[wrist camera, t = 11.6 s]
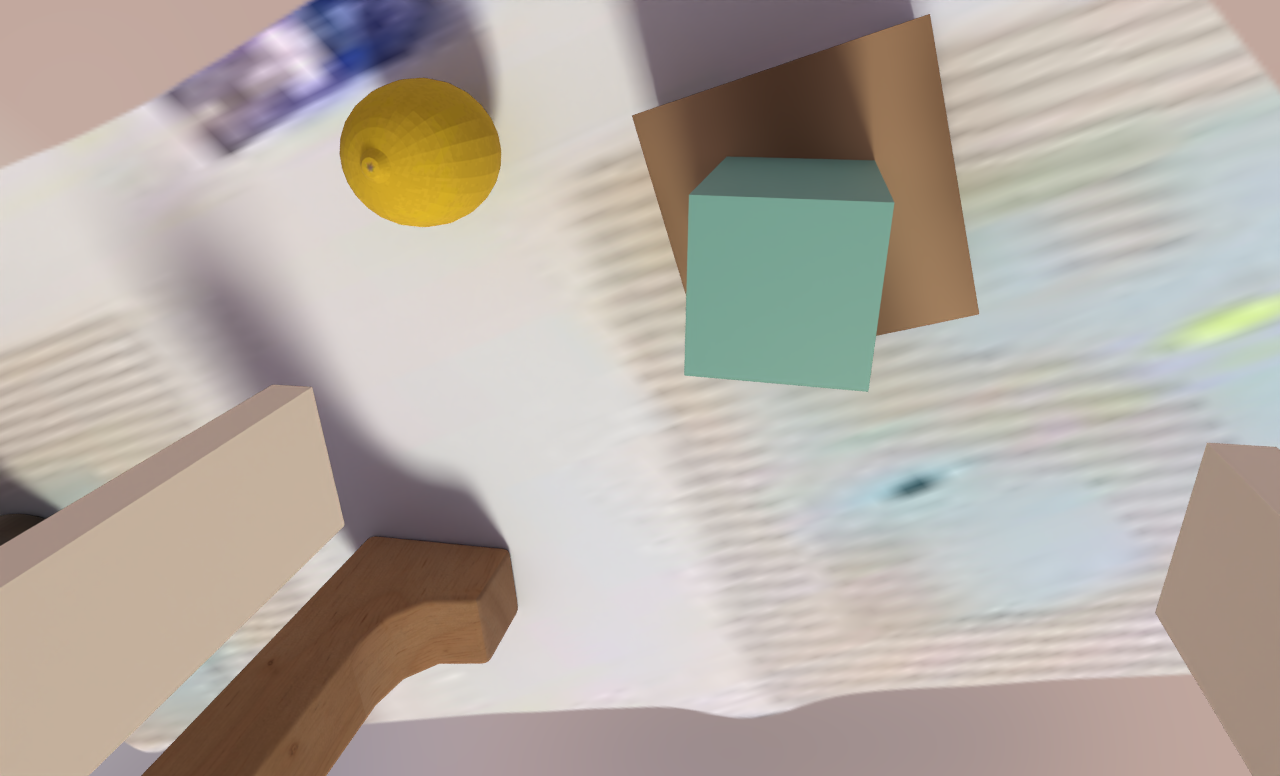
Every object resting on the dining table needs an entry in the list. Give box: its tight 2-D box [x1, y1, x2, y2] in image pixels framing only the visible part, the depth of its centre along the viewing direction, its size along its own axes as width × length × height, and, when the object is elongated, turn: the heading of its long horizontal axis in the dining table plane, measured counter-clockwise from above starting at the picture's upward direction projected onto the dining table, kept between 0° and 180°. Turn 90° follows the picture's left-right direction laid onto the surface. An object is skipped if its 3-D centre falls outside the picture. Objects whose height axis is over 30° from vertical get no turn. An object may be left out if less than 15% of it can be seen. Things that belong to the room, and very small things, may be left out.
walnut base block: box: [632, 14, 979, 336], centre depth 28 cm, size 10×10×5 cm
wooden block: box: [142, 536, 518, 776], centre depth 35 cm, size 9×4×18 cm, turn 94°
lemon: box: [340, 78, 501, 227], centre depth 29 cm, size 6×6×8 cm
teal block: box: [684, 157, 894, 392], centre depth 23 cm, size 5×5×8 cm
